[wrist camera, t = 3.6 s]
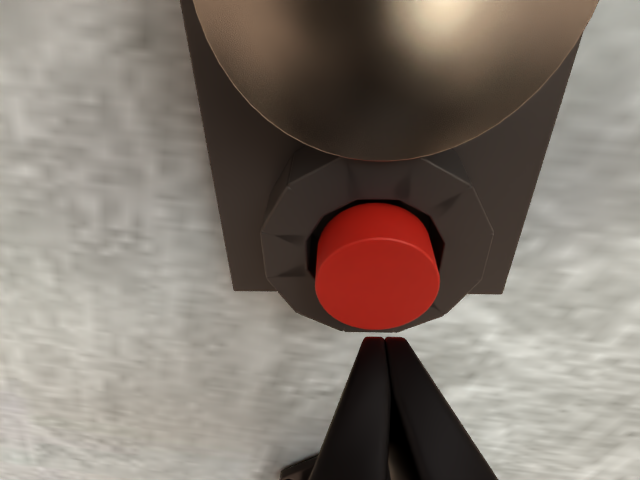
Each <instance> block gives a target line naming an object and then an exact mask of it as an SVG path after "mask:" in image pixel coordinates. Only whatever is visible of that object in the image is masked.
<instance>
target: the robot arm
mask: <svg viewBox="0 0 640 480" xmlns="http://www.w3.org/2000/svg"><path fill="white" fill-rule="evenodd" d="M280 480H498V479H497V477H496V475H495V474H494V472H493V471H492V469H491V468H490V466H489V465H488V463H487V462H486V460H485V459H484V457H483V456H482V454H481V453H480V451H479V450H478V448H477V447H476V445H475V444H474V442H473V441H472V439H471V437H470V436H469V434H468V433H467V431H466V430H465V428H464V427H463V425H462V424H461V422H460V421H459V419H458V418H457V416H456V415H455V413H454V412H453V410H452V409H451V407H450V406H449V404H448V403H447V401H446V399H445V398H444V396H443V395H442V393H441V392H440V390H439V389H438V387H437V386H436V384H435V383H434V381H433V380H432V378H431V377H430V375H429V374H428V372H427V371H426V369H425V368H424V366H423V365H422V363H421V361H420V360H419V358H418V357H417V355H416V354H415V352H414V351H413V349H412V348H411V346H410V345H409V343H408V342H407V340H406V339H405V338H402V337H387V338H385V340H384V339H383V338H382V337H365V338H364V339H363V342H362V344H361V347H360V349H359V352H358V354H357V357H356V360H355V362H354V365H353V367H352V370H351V372H350V375H349V378H348V380H347V383H346V385H345V388H344V390H343V393H342V396H341V398H340V401H339V403H338V406H337V408H336V411H335V414H334V416H333V419H332V421H331V424H330V426H329V429H328V432H327V434H326V437H325V439H324V442H323V444H322V447H321V450H320V452H319V455H318V456H316V457H314V458H312V459H309V460H307V461H304V462H302V463H299V464H297V465H294V466H292V467H290V468H287V469H285V470H283V471H281V475H280Z"/></svg>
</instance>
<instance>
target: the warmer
mask: <svg viewBox="0 0 640 480" xmlns="http://www.w3.org/2000/svg"><path fill="white" fill-rule="evenodd" d="M180 3H181V9H182V14H183V19H184V25H185V30H186V36H187V41H188V46H189V52H190V57H191V63H192V68H193V73H194V79H195V84H196V89H197V95H198V100H199V106H200V111H201V116H202V122H203V127H204V133H205V138H206V143H207V149H208V154H209V160H210V165H211V170H212V176H213V181H214V187H215V192H216V197H217V203H218V208H219V214H220V219H221V224H222V230H223V235H224V241H225V246H226V251H227V257H228V262H229V267H230V273H231V278H232V284H233V289H234V291H278V293H279V294H280V295H281V296H282V297H283V298H284V299H285V301H286V302H287V303H288V304H289V305H290V306H291V307H292V308H293V310H294V311H295V312H296V313H299V314H301V315H303V316H306V317H308V318H310V319H313V320H315V321H318V322H320V323H323V324H325V325H327V326H330V327H332V328H335V329H337V330H340V331H343V330H344V331H345V332H388V333H392V332H400V331H402V330H405V329H408V328H411V327H414V326H416V325H419V324H422V323H425V322H428V321H431V320H433V319H436V318H439V317H442V316H444V314H446V313H447V312H449V311H450V310H451V309H452V308H453V307H454V306H455V305H456V304H457V303H458V302H459V301H460V300H461V299H462V298H463V297H464V296H465V295H466V294H502V293H503V290H504V286H505V283H506V280H507V277H508V273H509V270H510V267H511V264H512V261H513V257H514V254H515V251H516V248H517V244H518V241H519V238H520V235H521V231H522V228H523V225H524V222H525V218H526V215H527V212H528V209H529V205H530V202H531V199H532V196H533V192H534V189H535V186H536V183H537V180H538V176H539V173H540V170H541V167H542V163H543V160H544V157H545V154H546V150H547V147H548V144H549V141H550V137H551V134H552V131H553V128H554V124H555V121H556V118H557V115H558V111H559V108H560V105H561V102H562V99H563V95H564V92H565V89H566V86H567V82H568V79H569V76H570V73H571V69H572V66H573V63H574V60H575V56H576V53H577V50H578V47H579V43H580V40H581V37H582V34H583V32H582V34H581V36H580V37H579V39H578V41H577V43H576V44H575V46H574V47H573V49H572V50H571V51H570V53H569V54H568V55H567V57H566V58H565V60H564V61H563V62H562V64H561V65H560V66H559V68H558V69H557V70H556V71H555V73H554V74H553V75H552V76H551V77H550V78H549V79H548V80H547V82H546V83H545V84H544V85H543V86H542V87H541V88H540V89H539V91H537V92H536V93H535V94H534V95H533V96H532V97H531V98H530V99H529V100H528V101H527V102H526V103H524V104H523V105H522V106H521V107H520V108H519V109H518V110H516V111H515V112H514V113H512V114H511V115H510V116H508V117H507V118H506V119H504V120H503V121H502V122H500V123H499V124H498V125H496V126H494V127H493V128H491V129H489V130H488V131H486V132H484V133H483V134H481V135H479V136H478V137H476V138H474V139H472V140H469V141H467V142H465V143H463V144H461V145H459V146H457V147H454V148H451V149H448V150H445V151H442V152H439V153H436V154H433V155H429V156H424V157H420V158H415V159H410V160H400V161H390V162H386V161H363V160H356V159H349V158H344V157H340V156H336V155H333V154H329V153H325V152H323V151H320V150H318V149H315V148H313V147H310V146H308V145H305V144H303V143H302V142H300V141H298V140H296V139H294V138H293V137H291V136H289V135H287V134H285V133H284V132H283V131H281V130H280V129H279V128H277V127H276V126H274V125H273V124H272V123H270V122H269V121H267V120H266V119H265V118H264V117H263V116H262V115H261V114H260V113H259V112H258V111H257V110H255V109H254V108H253V107H252V106H251V105H250V104H249V103H248V102H247V100H246V99H245V98H244V97H243V96H242V95H241V93H240V92H239V91H238V90H237V89H236V88H235V86H234V85H233V84H232V82H231V81H230V79H229V78H228V76H227V75H226V73H225V72H224V70H223V69H222V67H221V66H220V64H219V63H218V61H217V59H216V57H215V55H214V53H213V51H212V49H211V47H210V45H209V43H208V42H207V39H206V37H205V34H204V32H203V29H202V27H201V24H200V21H199V19H198V16H197V14H196V10H195V6H194V3H193V0H180ZM365 203H387V204H392V205H396V206H399V207H401V208H404V209H406V210H407V211H409V212H411V213H412V214H414V215H415V216H416V217H417V218H418V219H419V220H420V221H421V222H422V223H423V225H424V226H425V228H426V229H427V232H428V234H429V238H430V241H431V245H432V249H433V253H434V256H435V260H436V264H437V268H438V271H439V275H440V286H439V291H438V294H437V296H436V298H435V300H434V302H433V303H432V305H431V306H430V307H429V308H428V310H427V311H426V312H424V313H423V314H422V315H421V316H419V317H418V318H416V319H415V320H413V321H411V322H409V323H407V324H404V325H401V326H398V327H394V328H390V329H382V330H369V329H361V328H356V327H352V326H349V325H346V324H344V323H342V322H340V321H338V320H337V319H335V318H333V317H332V316H331V315H330V314H328V312H327V311H326V310H325V309H324V308H323V307H322V305H321V304H320V302H319V300H318V298H317V295H316V291H315V276H316V262H317V248H318V241H319V237H320V235H321V233H322V231H323V229H324V227H325V226H326V225H327V224H328V222H329V221H330V220H332V219H333V218H334V217H335V216H336V215H338V214H339V213H340V212H342V211H344V210H346V209H348V208H351V207H353V206H356V205H360V204H365Z"/></svg>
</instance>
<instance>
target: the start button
mask: <svg viewBox="0 0 640 480" xmlns="http://www.w3.org/2000/svg"><path fill="white" fill-rule="evenodd" d="M439 286H440V275H439V271H438V268H437V264H436V260H435V256H434V253H433V249H432V245H431V241H430V238H429V234H428V232H427V229H426V228H425V226H424V225H423V223H422V222H421V221H420V220H419V219H418V218H417V217H416V216H415V215H414V214H412V213H411V212H409V211H407V210H406V209H404V208H401V207H399V206H396V205H392V204H387V203H365V204H360V205H356V206H353V207H351V208H348V209H346V210H344V211H342V212H340V213H339V214H338V215H336V216H335V217H334V218H333V219H332V220H330V221H329V222H328V224H327V225H326V226H325V227H324V229H323V231H322V233H321V235H320V237H319V241H318V248H317V262H316V276H315V291H316V295H317V298H318V300H319V302H320V304H321V305H322V307H323V308H324V309H325V310H326V311H327V312H328V314H330V315H331V316H332V317H333V318H335V319H337V320H338V321H340V322H342V323H344V324H346V325H349V326H352V327H356V328H361V329H369V330H382V329H390V328H394V327H398V326H401V325H404V324H407V323H409V322H411V321H413V320H415V319H416V318H418V317H419V316H421V315H422V314H423V313H424V312H426V311H427V310H428V308H429V307H430V306H431V305H432V303H433V302H434V300H435V298H436V296H437V294H438V291H439Z"/></svg>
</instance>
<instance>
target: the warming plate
mask: <svg viewBox="0 0 640 480" xmlns="http://www.w3.org/2000/svg"><path fill="white" fill-rule="evenodd" d="M598 1H599V0H193V3H194V6H195V10H196V14H197V16H198V19H199V21H200V24H201V27H202V29H203V32H204V34H205V37H206V39H207V42H208V43H209V45H210V47H211V49H212V51H213V53H214V55H215V57H216V59H217V61H218V63H219V64H220V66H221V67H222V69H223V70H224V72H225V73H226V75H227V76H228V78H229V79H230V81H231V82H232V84H233V85H234V86H235V88H236V89H237V90H238V91H239V92H240V93H241V95H242V96H243V97H244V98H245V99H246V100H247V102H248V103H249V104H250V105H251V106H252V107H253V108H254V109H255V110H257V111H258V112H259V113H260V114H261V115H262V116H263V117H264V118H265V119H266V120H267V121H269V122H270V123H272V124H273V125H274V126H276V127H277V128H279V129H280V130H281V131H283V132H284V133H285V134H287V135H289V136H291V137H293V138H294V139H296V140H298V141H300V142H302V143H303V144H305V145H308V146H310V147H313V148H315V149H318V150H320V151H323V152H325V153H329V154H333V155H336V156H340V157H344V158H349V159H356V160H363V161H386V162H390V161H400V160H410V159H415V158H420V157H424V156H429V155H433V154H436V153H439V152H442V151H445V150H448V149H451V148H454V147H457V146H459V145H461V144H463V143H465V142H467V141H469V140H472V139H474V138H476V137H478V136H479V135H481V134H483V133H484V132H486V131H488V130H489V129H491V128H493V127H494V126H496V125H498V124H499V123H500V122H502V121H503V120H504V119H506V118H507V117H508V116H510V115H511V114H512V113H514V112H515V111H516V110H518V109H519V108H520V107H521V106H522V105H523V104H524V103H526V102H527V101H528V100H529V99H530V98H531V97H532V96H533V95H534V94H535V93H536V92H537V91H539V89H540V88H541V87H542V86H543V85H544V84H545V83H546V82H547V80H548V79H549V78H550V77H551V76H552V75H553V74H554V73H555V71H556V70H557V69H558V68H559V66H560V65H561V64H562V62H563V61H564V60H565V58H566V57H567V55H568V54H569V53H570V51H571V50H572V49H573V47H574V46H575V44H576V43H577V41H578V39H579V37H580V36H581V34H582V32H583V31H584V29H585V27H586V25H587V24H588V22H589V20H590V19H591V17H592V15H593V12H594V10H595V8H596V6H597V4H598Z"/></svg>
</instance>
